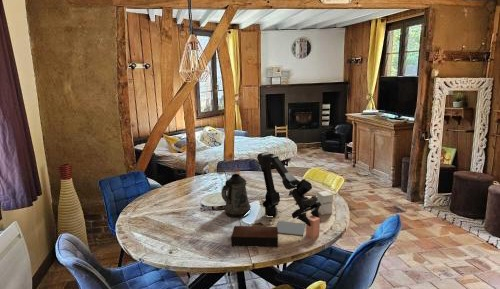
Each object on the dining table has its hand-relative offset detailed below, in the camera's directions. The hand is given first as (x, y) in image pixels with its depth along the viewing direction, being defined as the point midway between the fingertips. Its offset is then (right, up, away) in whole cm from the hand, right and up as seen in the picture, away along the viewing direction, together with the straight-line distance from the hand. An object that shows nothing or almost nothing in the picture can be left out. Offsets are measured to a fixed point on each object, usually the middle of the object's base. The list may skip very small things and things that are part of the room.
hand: (314, 223), depth 178 cm
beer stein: (-43, -1, +31) cm, 53 cm away
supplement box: (+12, 0, +32) cm, 34 cm away
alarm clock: (-32, -9, -3) cm, 33 cm away
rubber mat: (-12, -5, +10) cm, 17 cm away
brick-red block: (-1, -7, +3) cm, 7 cm away
